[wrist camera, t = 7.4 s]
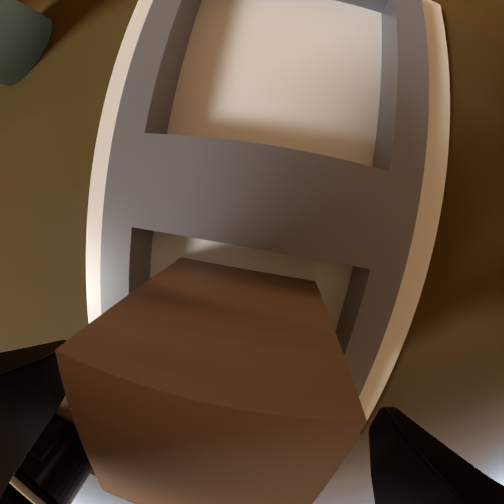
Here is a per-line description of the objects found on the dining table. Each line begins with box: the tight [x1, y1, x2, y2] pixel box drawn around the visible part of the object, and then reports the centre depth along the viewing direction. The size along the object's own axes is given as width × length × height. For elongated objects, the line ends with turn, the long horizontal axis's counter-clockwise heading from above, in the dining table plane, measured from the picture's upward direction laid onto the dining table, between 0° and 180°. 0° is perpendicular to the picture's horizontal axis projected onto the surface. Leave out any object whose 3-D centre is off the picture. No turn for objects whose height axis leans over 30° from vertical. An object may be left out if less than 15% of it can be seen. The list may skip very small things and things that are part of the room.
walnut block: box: [55, 257, 367, 504], centre depth 7 cm, size 5×5×7 cm
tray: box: [86, 0, 450, 443], centre depth 9 cm, size 23×14×2 cm, turn 171°
